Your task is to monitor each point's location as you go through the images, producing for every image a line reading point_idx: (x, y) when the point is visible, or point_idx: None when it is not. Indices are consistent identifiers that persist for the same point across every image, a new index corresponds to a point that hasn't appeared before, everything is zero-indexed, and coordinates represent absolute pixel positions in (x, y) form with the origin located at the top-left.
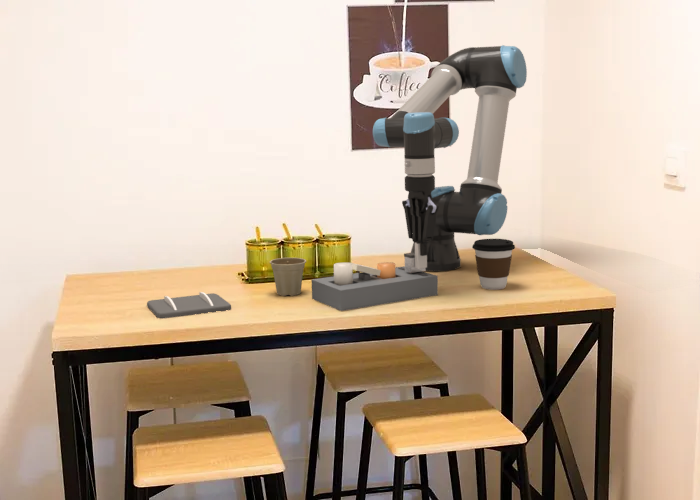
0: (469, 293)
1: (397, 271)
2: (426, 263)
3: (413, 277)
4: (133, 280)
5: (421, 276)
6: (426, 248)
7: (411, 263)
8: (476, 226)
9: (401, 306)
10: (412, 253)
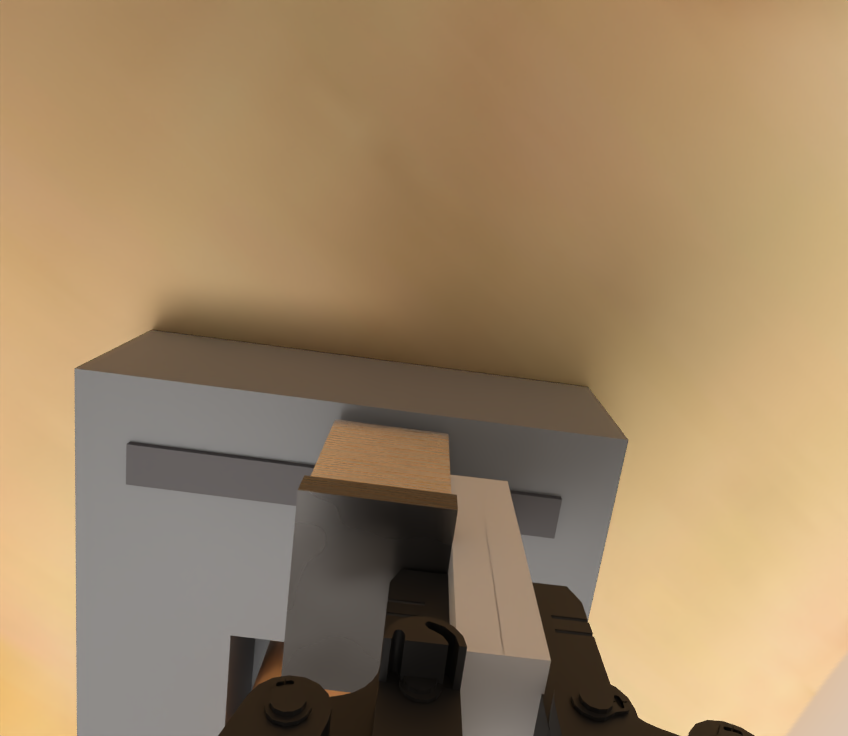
0: (731, 169)
1: (234, 564)
2: (511, 506)
3: None
4: None
5: (544, 556)
6: (593, 658)
7: None
8: None
9: None
10: (340, 616)
